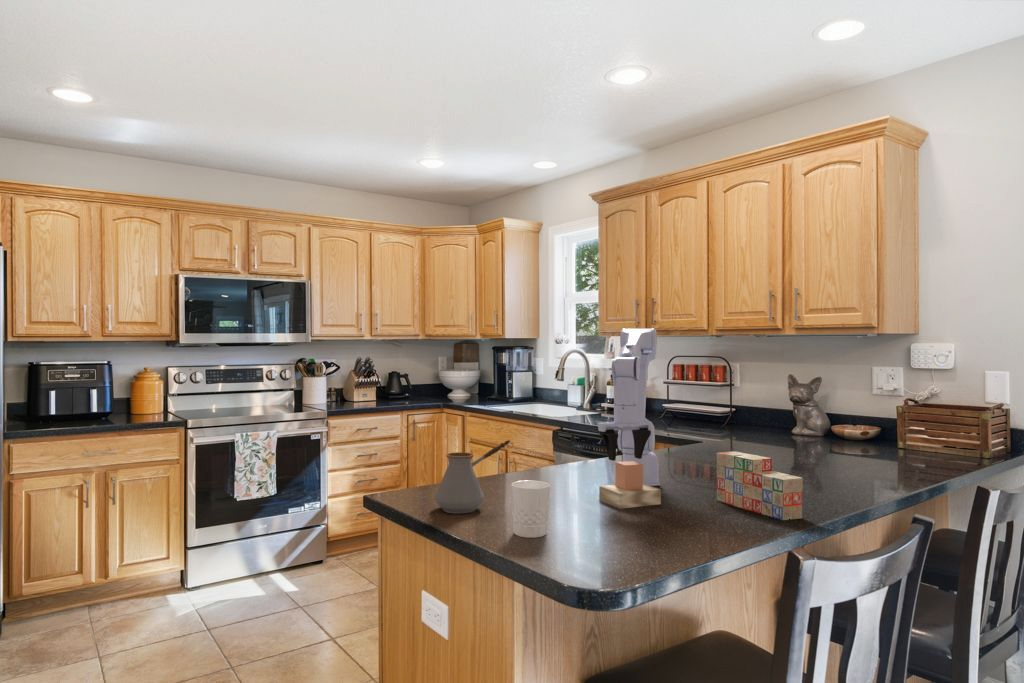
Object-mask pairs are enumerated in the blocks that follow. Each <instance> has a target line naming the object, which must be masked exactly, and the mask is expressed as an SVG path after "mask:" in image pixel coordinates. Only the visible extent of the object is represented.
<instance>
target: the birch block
mask: <svg viewBox="0 0 1024 683" xmlns="http://www.w3.org/2000/svg"><path fill="white" fill-rule="evenodd" d="M598 492H599V493H598V494H599V495H598V497H599V498H598V499H599V501H600V502H602V503H604V504H607V505H610V506H612V507H615V508H617V509H619V510H621V509H628V508H638V507H647V506H656V505H661V504H662V489H660V488H658V487H656V486H649V485H646V484H643V489H636V490H623V489H621V488H619V487H616V486H615V484H608V485H607V484H606V485H599V487H598Z"/></svg>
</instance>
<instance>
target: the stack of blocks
mask: <svg viewBox="0 0 1024 683" xmlns="http://www.w3.org/2000/svg"><path fill="white" fill-rule="evenodd" d="M772 464H773V462H772V458H771V457H768V456H762V455H756V454H751V453H745V452H741V451H723V452H716V501H718V502H721V503H725V504H727V505H730V506H734V507H736V508H740V509H743V510H747V511H749V512H750V511H751V512H753V511H754V513H756V512H757V514H760V513H761V515H763V516H766V515H767V517H769V516H770V518H773V517H774V518H773V519H776V518H777V520H779V519H780V521H790V520H797V519H802V518H803V488H804V486H803V485H804V484H803V483H804V481H803V480H804V479H803V477H802V476H801V477H800V476H797V475H796V476H795V475H791V474H787V473H784V472H783V473H782V472H779V471H773V470H772V466H773V465H772ZM789 519H790V520H789Z"/></svg>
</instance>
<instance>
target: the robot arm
mask: <svg viewBox="0 0 1024 683" xmlns="http://www.w3.org/2000/svg"><path fill="white" fill-rule="evenodd" d="M657 336H658V335H657V330H656V328H654V327H652V328H624V327H623V328H622V330H620V339H619V342H620V348H621V349H620V350H619V353H618V356H616V357H615V358H613V359H612V361H611V376H612V387H613V421H607V422H598V423H597V424H598V425H597V427H598V428H597V429H598V431H599V436H600V437H601V439H602V440H603V443H604V445H605V449H606V452H607V453H606V454H607V457H608V460H610V461H611V462H612V461H613V462H616V458H617V448H618V450H620V451H621V453H622V462H627V461H634V462H637V463H640V464H643V484H646V485H649V486H652V487H657V486H658V487H659V486H661V483H659V472H660V470H659V466H660V465H659V464H660V463H659V459H658V456H657V454H656V453H654V450H655V442H656V438H655V437H656V435H655V434H656V433H655V426H654V424H653V422H652V421H650V420H649V419H647V418H646V409H647V408H646V406H647V404H646V402H647V385H648V384H647V383H648V382H647V381H648V379H647V378H648V369H649V365H650V362H651V361H653V360H655V359H656V356H657V343H658V341H657V340H658V337H657ZM615 431H616V432H617V431H618V432H617V433H616V432H615Z"/></svg>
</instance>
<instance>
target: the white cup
mask: <svg viewBox="0 0 1024 683" xmlns="http://www.w3.org/2000/svg"><path fill="white" fill-rule="evenodd" d="M510 485H511V509H512V510H511V511H512V521H513V523H512V524H513V525H512V526H513V534H514V535H515V536H517V537H521V538H527V539H528V538H532V539H533V538H541V537H544V536H546V534H548V520H549V508H550V489H551V488H550V487H551V484H550V483H548V482H546V481H540V480H532V479H531V480H518V481H514V482H512V483H511V484H510Z"/></svg>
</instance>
